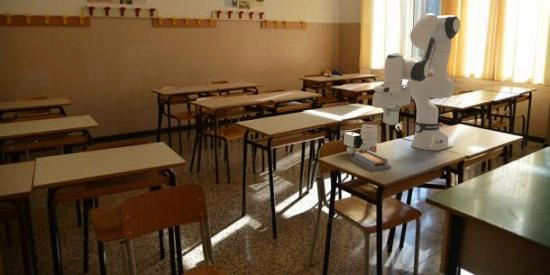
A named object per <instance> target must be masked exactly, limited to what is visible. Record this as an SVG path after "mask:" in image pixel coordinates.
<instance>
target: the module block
mask: <svg viewBox="0 0 550 275" xmlns="http://www.w3.org/2000/svg"><path fill="white" fill-rule="evenodd" d="M386 110H387V112H389V115H388V116H385V115H384V111H383V114H382V116H383V117H382V123H385V124H387V125H390V126H393V125H394V126H395V125H396V126H397V125H399V113H400V109H399V108H396V107H395V106H392V107H387V109H386Z"/></svg>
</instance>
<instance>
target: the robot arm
mask: <svg viewBox="0 0 550 275" xmlns="http://www.w3.org/2000/svg"><path fill="white" fill-rule="evenodd" d="M460 28H461V23H460V19H459V18H458V16H457V15H451V14H450V15H435V14H434V13H424V14H423V15H422V16H421V17H420V18H419V20H417V21H416V24H414V27H413V28H412V30H411V32H410V35H409V36H410V37H409V39H410V42H411V44H412V45H413V46H414V47H416V48H417V49H420V50H422V55H421V58H420V59H417V60H415V59H406V58H404V54H402V53H398V52H396V53H395V52H394V53H390V54H388V55H386V57H385V63H384V70H383V71H384V72H383V73H384V79H383V82H382V83H380V84H378V85H376V86H375V87H374V88H373V90H374V91H375V92H374V93H373V94H372V107H374V108H378V109H379V108H382V110H383V112H384V115H385V116H388V115H389V112H387V110H386V109H387V107H396V108H399V110H400V109H401V107H402V106H410V105H411V97H412V98H413V100H414V102H415V106H416V120H415V124H414V135H413V139H412V142H411V144H410V145H411V146H412V147H413V148H414V149H415V148H416V149H419V150H426V151H427V150H428V151H433V152H434V151H440V150H445V149H448V148H452V147H453V144H451V143H449V137H448V135H447V134H446V133H445V132H443V130H441V128H442V127H444V123H443V122H439V121H438V118H439V109H438V106H437V105H435V104H433V103H432V102H431V100H430V98H431V99H432V98H433V99H441V100H442V99H449V98H451V97H452V96H453V95H454V93H455V90H456V85H455V82H454V81H453V80H452V79H451V78H450V77H449V74H448V63H449V60H450V55H451V52H452V42H453V41H452V40H453V39H454V38H455V36H456V35H457V34H458V32H459V30H460ZM430 73H432V76H429V74H430ZM403 80H406V81H407V82H406V85H405V86H403Z"/></svg>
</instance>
